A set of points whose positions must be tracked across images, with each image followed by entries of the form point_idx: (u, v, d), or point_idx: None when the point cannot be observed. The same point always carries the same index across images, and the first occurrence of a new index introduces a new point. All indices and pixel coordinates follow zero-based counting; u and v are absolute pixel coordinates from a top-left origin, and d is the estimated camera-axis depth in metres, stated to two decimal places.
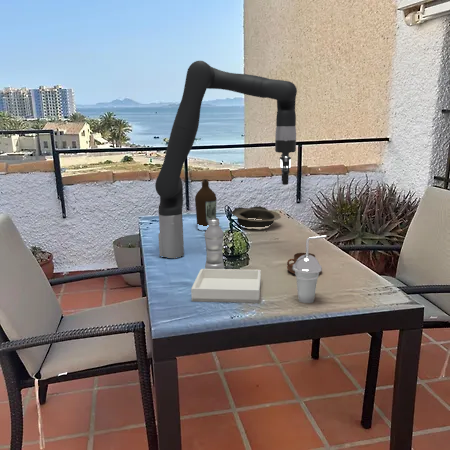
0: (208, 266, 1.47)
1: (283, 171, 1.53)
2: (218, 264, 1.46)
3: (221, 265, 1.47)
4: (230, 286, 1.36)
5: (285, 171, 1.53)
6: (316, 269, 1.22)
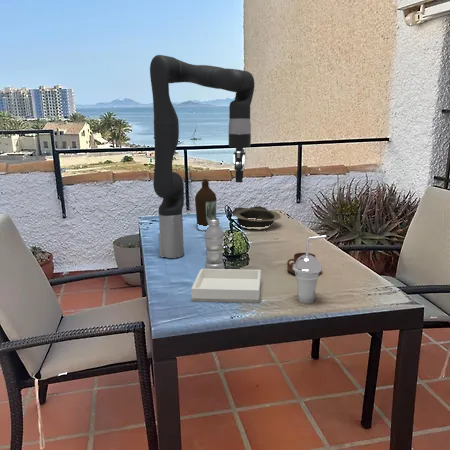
0: (208, 266, 1.47)
1: (236, 167, 1.41)
2: (218, 264, 1.46)
3: (221, 265, 1.47)
4: (230, 286, 1.36)
5: (238, 167, 1.41)
6: (316, 269, 1.22)
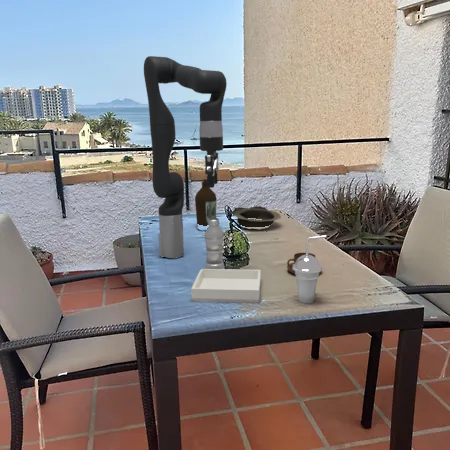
0: (208, 266, 1.47)
1: (206, 172, 1.35)
2: (218, 264, 1.46)
3: (221, 265, 1.47)
4: (230, 286, 1.36)
5: (208, 172, 1.35)
6: (316, 269, 1.22)
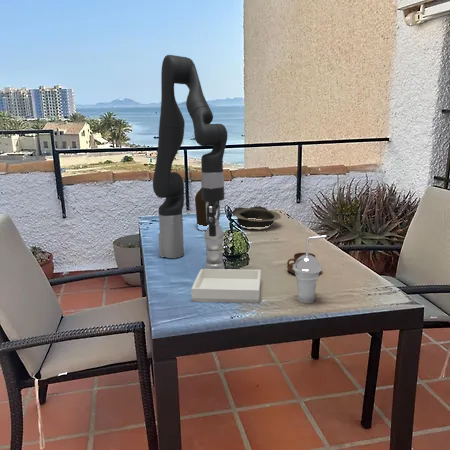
0: (208, 266, 1.47)
1: (208, 223, 1.38)
2: (218, 264, 1.46)
3: (221, 265, 1.47)
4: (230, 286, 1.36)
5: (210, 223, 1.38)
6: (316, 269, 1.22)
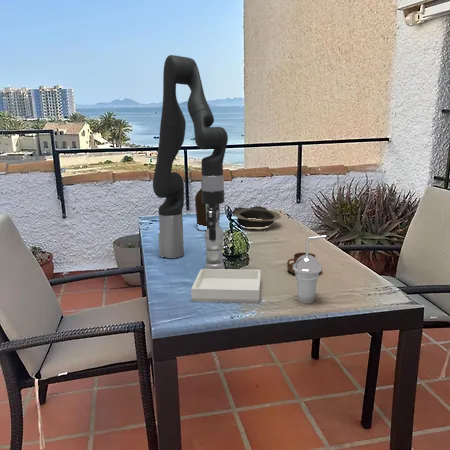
0: (208, 266, 1.47)
1: (208, 227, 1.39)
2: (218, 264, 1.46)
3: (221, 265, 1.47)
4: (230, 286, 1.36)
5: (210, 227, 1.39)
6: (316, 269, 1.22)
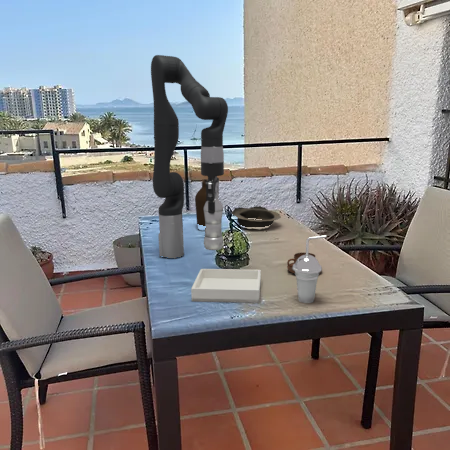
0: (206, 240, 1.45)
1: (207, 199, 1.37)
2: (217, 238, 1.44)
3: (220, 239, 1.45)
4: (230, 286, 1.36)
5: (209, 199, 1.37)
6: (316, 269, 1.22)
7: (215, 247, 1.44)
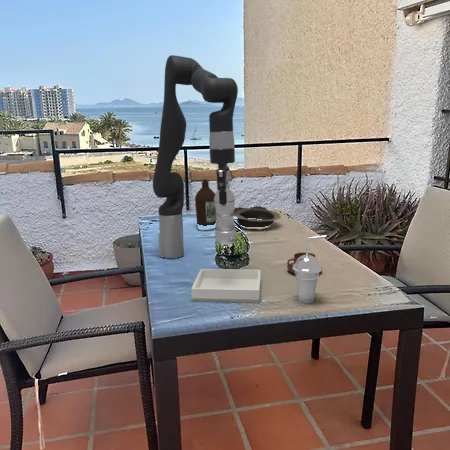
0: (218, 234, 1.33)
1: (218, 188, 1.26)
2: (230, 231, 1.33)
3: (233, 232, 1.33)
4: (230, 286, 1.36)
5: (221, 188, 1.26)
6: (316, 269, 1.22)
7: (228, 241, 1.33)
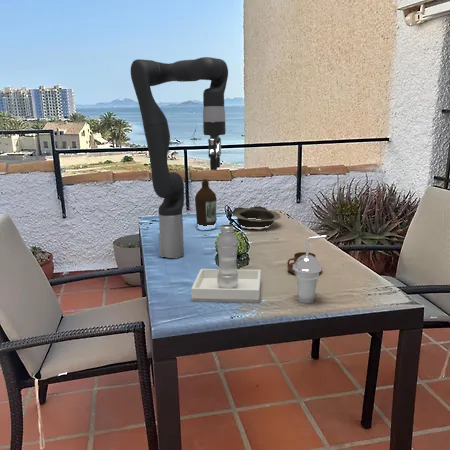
0: (220, 278, 1.32)
1: (209, 155, 1.41)
2: (232, 276, 1.32)
3: (235, 277, 1.32)
4: None
5: (211, 155, 1.41)
6: (316, 269, 1.22)
7: (230, 286, 1.32)
